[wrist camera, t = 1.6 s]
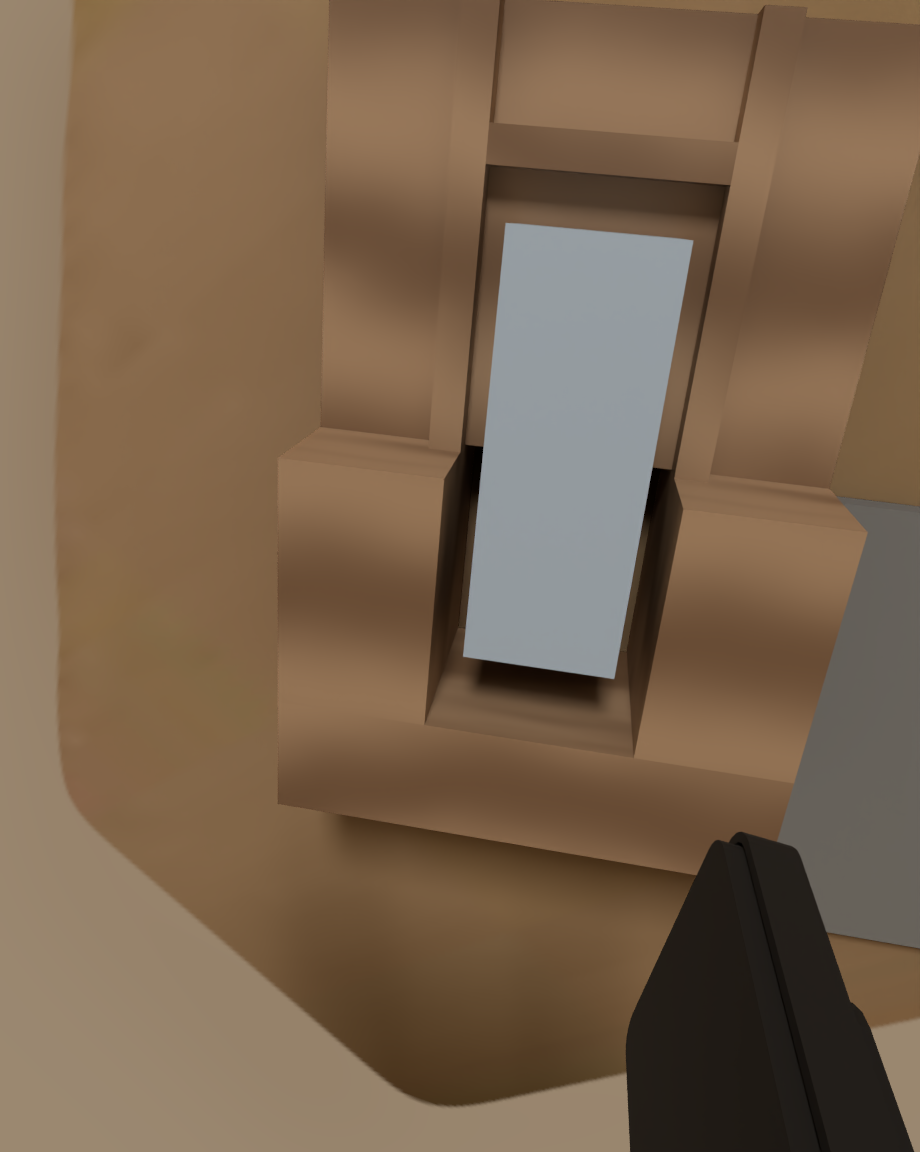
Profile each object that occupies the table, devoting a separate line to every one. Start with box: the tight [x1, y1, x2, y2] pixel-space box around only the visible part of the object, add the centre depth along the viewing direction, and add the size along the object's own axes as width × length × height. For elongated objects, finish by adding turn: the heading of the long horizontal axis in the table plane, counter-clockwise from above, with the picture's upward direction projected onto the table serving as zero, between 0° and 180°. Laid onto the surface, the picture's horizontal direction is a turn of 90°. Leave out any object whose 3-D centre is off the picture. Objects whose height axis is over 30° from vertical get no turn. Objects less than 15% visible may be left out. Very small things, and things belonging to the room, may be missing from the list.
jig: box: [278, 0, 920, 875], centre depth 26 cm, size 24×16×7 cm, turn 175°
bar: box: [463, 223, 693, 679], centre depth 24 cm, size 12×4×4 cm, turn 175°
